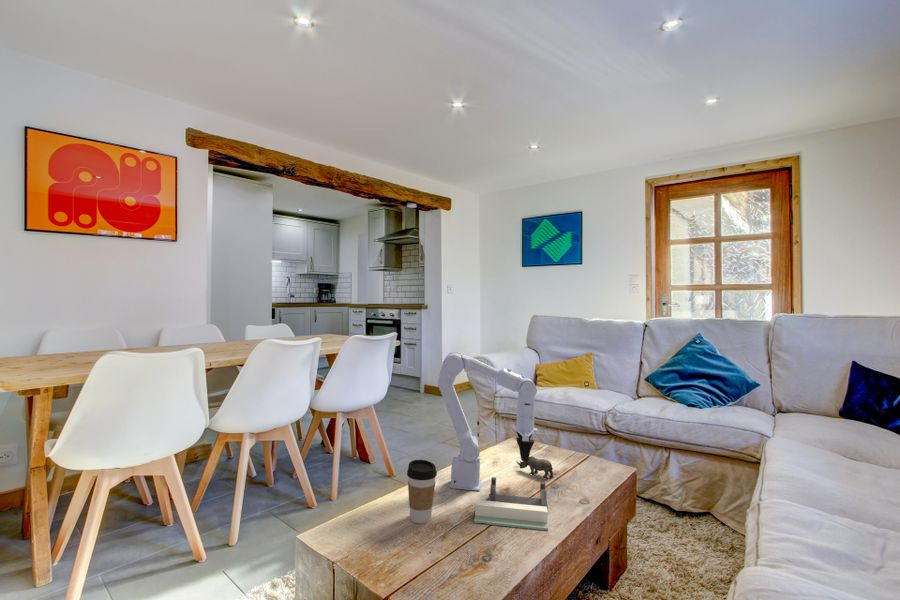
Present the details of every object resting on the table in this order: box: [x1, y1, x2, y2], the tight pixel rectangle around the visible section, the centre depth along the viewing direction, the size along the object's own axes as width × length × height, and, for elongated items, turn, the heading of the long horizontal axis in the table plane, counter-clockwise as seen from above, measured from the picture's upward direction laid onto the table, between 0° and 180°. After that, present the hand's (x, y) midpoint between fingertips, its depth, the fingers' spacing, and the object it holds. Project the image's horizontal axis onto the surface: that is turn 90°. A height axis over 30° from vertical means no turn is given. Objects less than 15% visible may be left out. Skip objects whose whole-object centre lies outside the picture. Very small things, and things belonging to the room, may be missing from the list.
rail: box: [474, 499, 549, 524], centre depth 122 cm, size 20×3×3 cm, turn 82°
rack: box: [487, 476, 549, 511], centre depth 130 cm, size 18×7×6 cm, turn 82°
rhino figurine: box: [516, 455, 554, 479], centre depth 154 cm, size 4×14×6 cm, turn 57°
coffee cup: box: [406, 459, 438, 524], centre depth 120 cm, size 8×8×15 cm
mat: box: [473, 514, 549, 532], centre depth 122 cm, size 20×9×1 cm, turn 82°
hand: (524, 456), depth 142 cm, fingers open, 7 cm apart
